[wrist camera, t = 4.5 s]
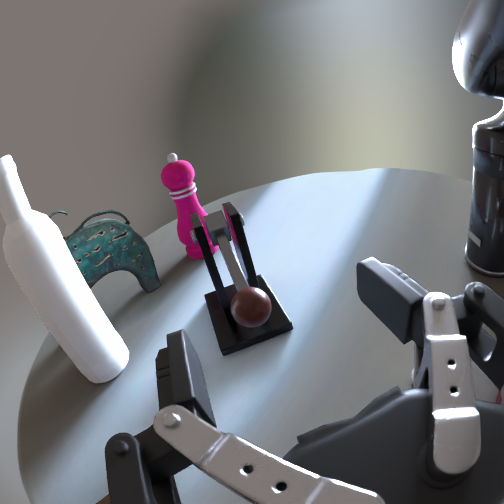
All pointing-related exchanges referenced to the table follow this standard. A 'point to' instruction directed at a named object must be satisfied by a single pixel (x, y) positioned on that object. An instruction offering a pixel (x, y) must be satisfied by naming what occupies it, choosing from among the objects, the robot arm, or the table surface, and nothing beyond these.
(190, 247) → the pepper mill
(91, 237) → the ceramic cat
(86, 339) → the bottle
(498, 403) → the cocoa
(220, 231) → the press lever
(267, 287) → the lever bracket
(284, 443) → the table surface
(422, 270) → the table surface
